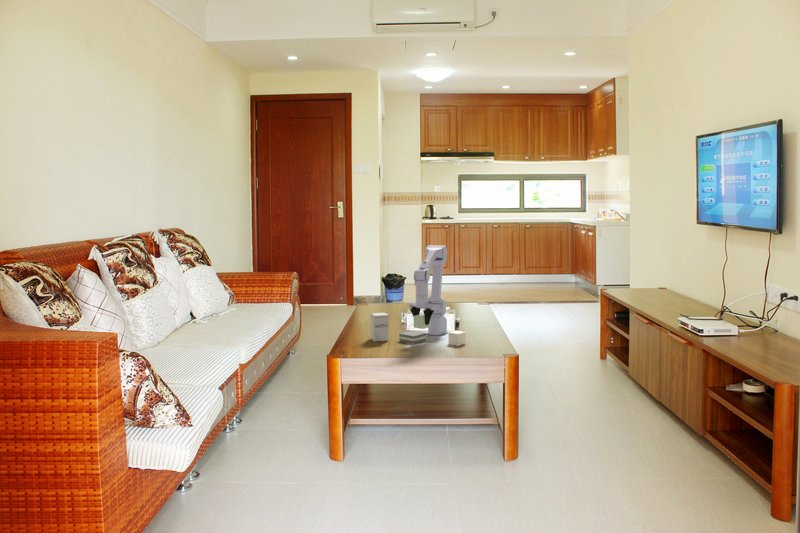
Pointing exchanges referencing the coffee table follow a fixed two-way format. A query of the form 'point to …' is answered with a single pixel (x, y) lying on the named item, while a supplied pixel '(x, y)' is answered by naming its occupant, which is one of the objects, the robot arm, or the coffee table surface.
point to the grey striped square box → (412, 337)
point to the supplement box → (379, 327)
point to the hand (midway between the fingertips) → (422, 323)
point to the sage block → (420, 322)
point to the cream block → (456, 338)
